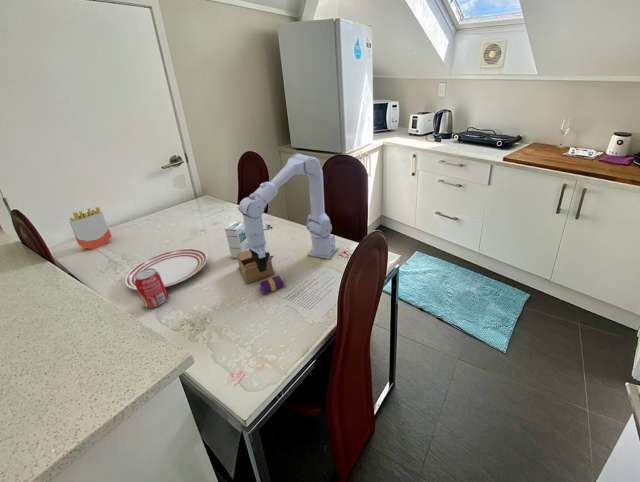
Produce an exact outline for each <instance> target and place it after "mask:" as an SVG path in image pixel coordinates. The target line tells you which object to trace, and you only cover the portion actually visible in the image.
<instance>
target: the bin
mask: <svg viewBox="0 0 640 482" xmlns="http://www.w3.org/2000/svg"><path fill="white" fill-rule="evenodd" d="M265 253H267V252H266V251H265ZM251 256H252V254H251V251H250V250H248V251H245V252H242V253H238V254H237V258H236V259H237V262H238V267H239V269H240V271H241V274H242V275H243V277H244V279H245V281H246V283H247V284H249V283H252V282H255V281H257V280H260V279H263V278H266V277H268V276H271V275H273V274H274V270H273V263H272V259H271V260H270V261H267V267H266V271H264V272H259V270H258V267H257V265H255V266H253V267H250V268H247V269H244V268H245V265H246V264H249V263H252V262H255V261H254V260H253V259H252V257H251Z"/></svg>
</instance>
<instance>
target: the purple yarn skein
mask: <svg viewBox="0 0 640 482" xmlns="http://www.w3.org/2000/svg"><path fill="white" fill-rule="evenodd" d="M259 284H260V290H261V291H262V294H263V295H266V294H269V293H271V292H274V291H276V290H279V289H282V288H284V283H283V279H282V278H281V276H280V275H276V276H273V277H270V278H267V279H265V280H263V281H260V282H259Z"/></svg>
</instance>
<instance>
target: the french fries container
mask: <svg viewBox="0 0 640 482" xmlns="http://www.w3.org/2000/svg"><path fill="white" fill-rule="evenodd" d="M72 215H73V217H69V225H70V227H71V229H72V233H73V235H74V238H75V240H76V242H77V245H79V246H80V247H81V248H84V249H89V250H93V249H97V248H99V247H102V246H104V245H107V244H108V242H109V241H110V240H111V239H112V233H111V232H110V229H109V226H108V224H107V221H106V219H105V216H104V214H103V212H102V211H101V209H100V207H99V206H95V209H90V207H89V208H87V212H83V210H79V211H75V212H72Z"/></svg>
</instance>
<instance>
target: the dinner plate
mask: <svg viewBox="0 0 640 482" xmlns="http://www.w3.org/2000/svg"><path fill="white" fill-rule="evenodd" d="M207 262H208V254H207V253H206V251H204V250H202V249H199V248H190V247H189V248H178V249H172V250H169V251H165V252H162V253H159V254H156V255H154V256H150V257H149V258H147V259H145V260H143V261H142V262H139V263H138V264H136V265H135V266H134V267H132V268H131V269H130V270H129V271H128V272H127V274H126V275H125V277H124V284H125V286H126V287H127V288H129V289H131V290H135V291H137V288H136V285H135V275H136V274H137V273H138V272H140V271H142V270H145V269H150V268H153V269H155V270H156V271H157V272H158V273H159V274H160V276H161V279H162V282H163V284H164V287H165V288H168V287H172V286H175V285H177V284H179V283H182V282H184V281H186V280H188V279H190V278H191V277H193V276H194V275H196V274H197V273H198V272H200V271H201V270H202V268H203V267H204V266H205V265H206V263H207Z"/></svg>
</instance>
